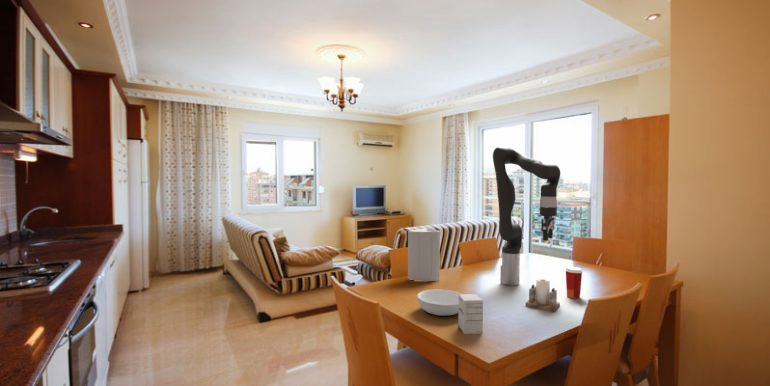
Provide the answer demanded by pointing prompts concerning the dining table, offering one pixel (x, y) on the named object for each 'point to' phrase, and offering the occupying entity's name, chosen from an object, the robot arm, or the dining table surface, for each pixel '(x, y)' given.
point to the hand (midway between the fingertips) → (547, 239)
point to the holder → (532, 303)
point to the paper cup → (573, 282)
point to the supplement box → (470, 314)
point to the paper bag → (424, 254)
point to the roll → (542, 291)
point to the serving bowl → (439, 301)
